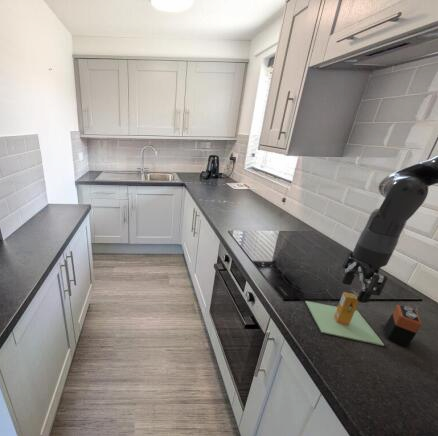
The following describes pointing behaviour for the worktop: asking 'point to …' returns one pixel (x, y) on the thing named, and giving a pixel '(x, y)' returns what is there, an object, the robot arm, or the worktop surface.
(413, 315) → the battery
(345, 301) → the supplement box
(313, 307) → the sticky note pad
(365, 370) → the worktop surface
